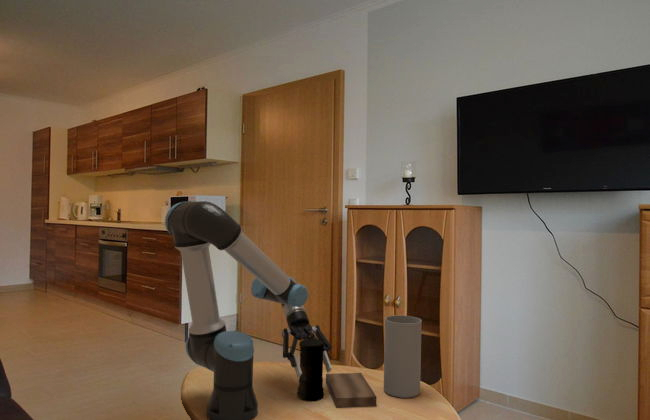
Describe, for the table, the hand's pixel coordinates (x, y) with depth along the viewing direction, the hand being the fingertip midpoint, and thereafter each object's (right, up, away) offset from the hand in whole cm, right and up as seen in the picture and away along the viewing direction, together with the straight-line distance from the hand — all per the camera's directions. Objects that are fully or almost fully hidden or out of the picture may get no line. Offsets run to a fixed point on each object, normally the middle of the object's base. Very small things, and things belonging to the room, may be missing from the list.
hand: (315, 373), depth 150 cm
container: (-2, -9, +3) cm, 9 cm away
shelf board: (+12, -9, +5) cm, 16 cm away
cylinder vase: (+30, -10, +8) cm, 32 cm away
